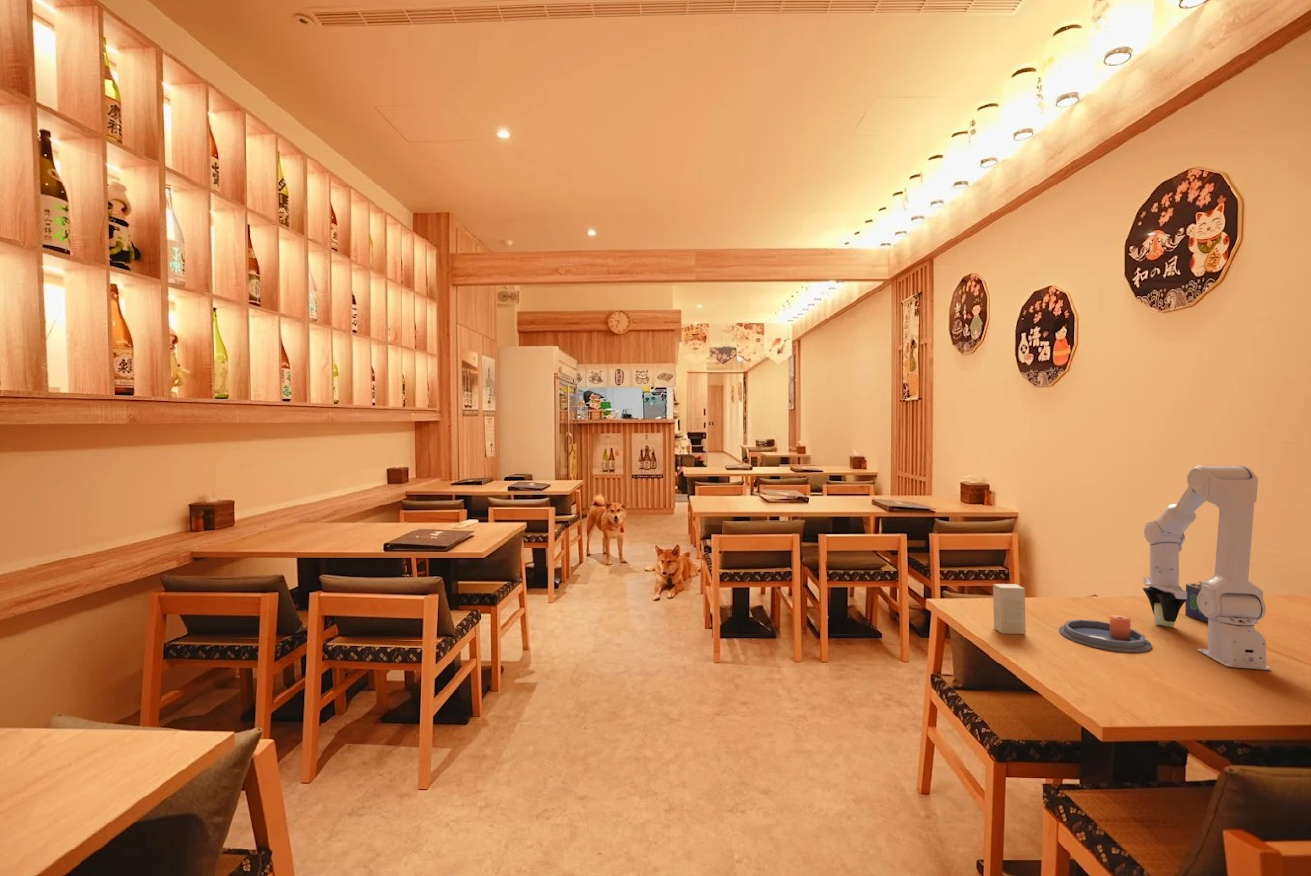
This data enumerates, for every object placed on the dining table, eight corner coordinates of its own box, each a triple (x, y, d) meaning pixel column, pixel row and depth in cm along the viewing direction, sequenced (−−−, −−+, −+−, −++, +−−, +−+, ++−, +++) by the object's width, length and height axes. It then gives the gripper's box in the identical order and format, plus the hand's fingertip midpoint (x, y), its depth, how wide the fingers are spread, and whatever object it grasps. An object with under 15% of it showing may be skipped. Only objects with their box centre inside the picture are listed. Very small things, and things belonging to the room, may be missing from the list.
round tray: (1169, 655, 127) (1169, 647, 127) (1079, 648, 132) (1078, 640, 132) (1125, 628, 145) (1125, 621, 145) (1047, 623, 149) (1047, 616, 149)
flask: (1226, 625, 146) (1225, 585, 146) (1215, 626, 146) (1215, 586, 146) (1191, 614, 156) (1190, 576, 155) (1181, 614, 155) (1180, 577, 155)
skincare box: (1016, 628, 146) (1016, 583, 146) (1026, 634, 141) (1025, 588, 141) (992, 628, 146) (992, 583, 146) (1001, 634, 142) (1000, 587, 142)
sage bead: (1179, 626, 144) (1179, 607, 144) (1163, 626, 145) (1163, 607, 144) (1165, 621, 148) (1165, 602, 148) (1150, 621, 149) (1150, 602, 148)
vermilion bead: (1134, 641, 135) (1134, 620, 135) (1115, 639, 136) (1115, 619, 136) (1124, 635, 139) (1124, 615, 139) (1106, 634, 140) (1106, 614, 140)
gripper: (1130, 560, 154) (1130, 608, 155) (1163, 573, 140) (1163, 626, 141) (1160, 562, 153) (1161, 610, 153) (1196, 575, 139) (1197, 628, 139)
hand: (1164, 618), depth 146 cm, fingers closed on sage bead, 4 cm apart
